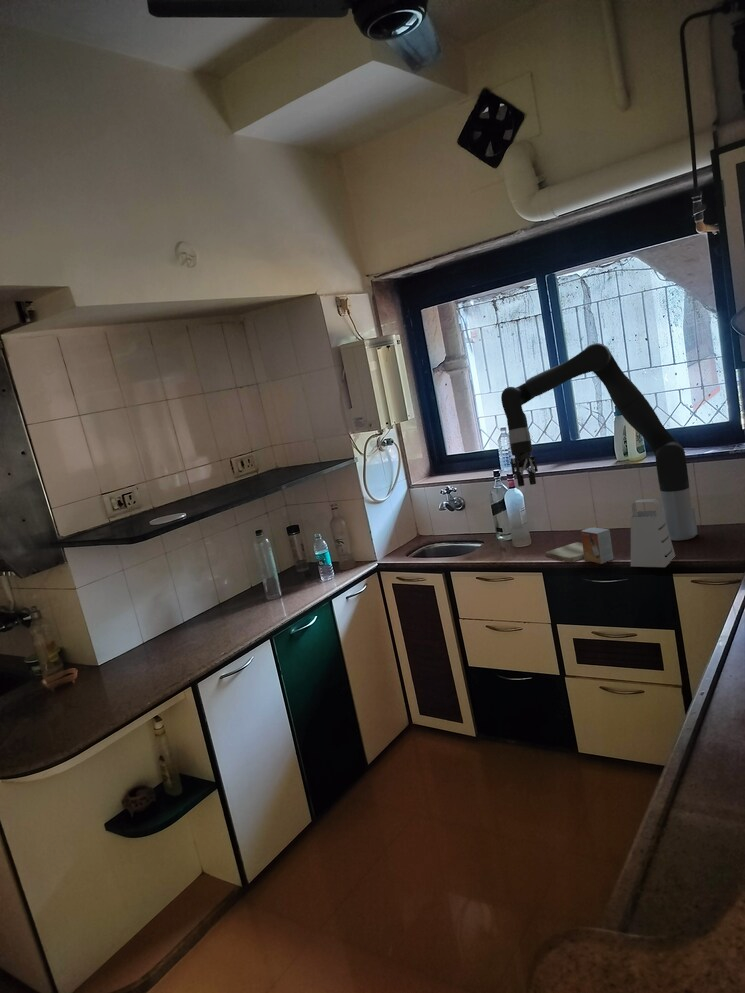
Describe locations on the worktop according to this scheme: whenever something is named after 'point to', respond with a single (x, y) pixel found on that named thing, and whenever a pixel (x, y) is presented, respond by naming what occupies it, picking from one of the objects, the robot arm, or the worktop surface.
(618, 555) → the worktop surface
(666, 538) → the grater
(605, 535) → the small box
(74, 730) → the worktop surface
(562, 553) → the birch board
